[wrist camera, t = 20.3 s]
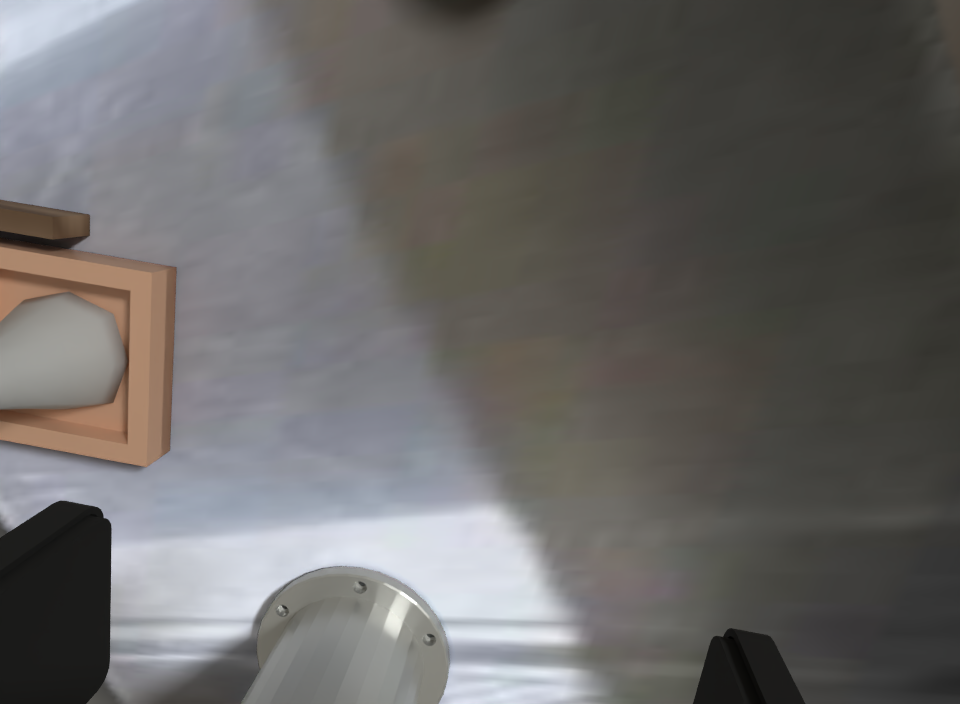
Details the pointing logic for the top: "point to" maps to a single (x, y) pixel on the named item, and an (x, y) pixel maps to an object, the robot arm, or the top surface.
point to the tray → (145, 336)
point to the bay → (42, 221)
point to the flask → (59, 354)
